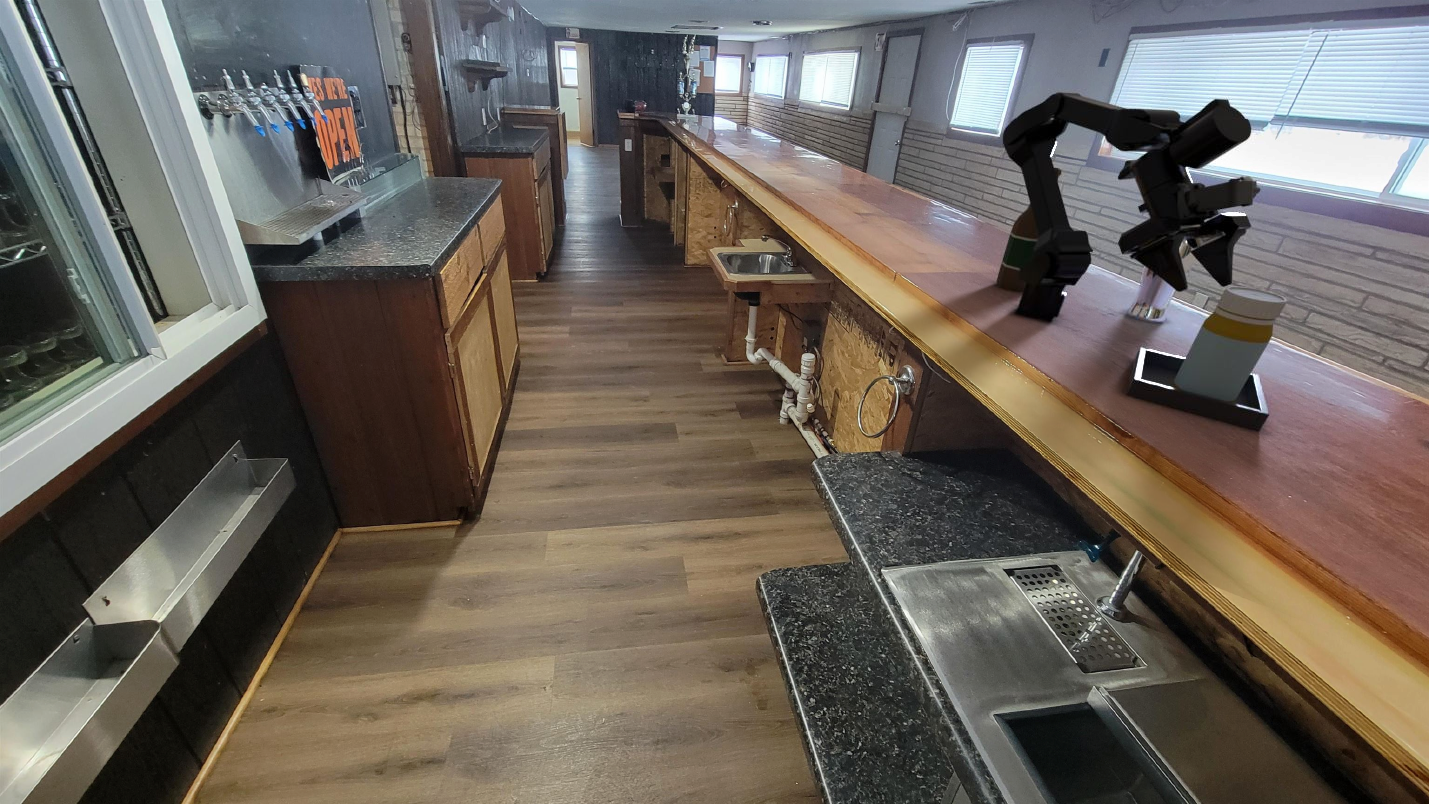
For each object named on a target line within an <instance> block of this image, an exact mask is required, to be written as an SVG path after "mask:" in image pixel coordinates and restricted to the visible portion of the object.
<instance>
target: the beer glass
mask: <svg viewBox="0 0 1429 804" xmlns="http://www.w3.org/2000/svg"><path fill="white" fill-rule="evenodd" d="M1192 250H1194V249H1193V248H1192V247H1190V246H1189V245H1188V243H1187V241H1186V239H1183V242H1182V244H1181V247H1180V249H1179V253H1180V256H1181V260H1182V264H1183V268H1184V271H1185V275H1186V278H1187V277H1189V275H1190V272H1191V271H1192V269H1193V267H1194V265H1195V262H1196V260H1197V259H1196V258H1195V257H1194V256H1193V255H1192V253H1191V252H1190V251H1192ZM1177 292H1178V291H1176V290H1175V289H1174V288H1173V287H1171V286H1170V285H1169V284H1168V283H1166V282H1165V281H1164V280H1163V279H1161V278H1160V277H1159V276H1158V275H1156V274H1155V273H1154V272H1152V271H1151V270H1150V269H1148V268H1147V267H1145V266H1144V265H1143V270H1142V273H1141V278H1140V282H1139V287H1138V291H1137V294H1136V297H1135V299H1134V300H1133V302H1132V304H1131V305H1130V306H1129V308H1128V310H1127V312H1126V313H1127V315H1128V316H1129V317H1131V318H1134V319H1136V320H1140V321H1144V322H1150V323H1162V322H1164V321H1165V319H1166V316H1167V311H1168V308H1169V305H1170V303H1171V301H1172V299H1173V297H1174V296H1175V295H1176V293H1177Z"/></svg>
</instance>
